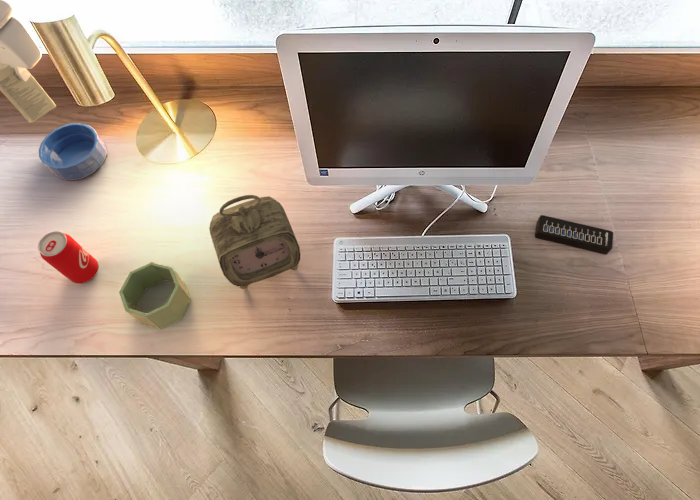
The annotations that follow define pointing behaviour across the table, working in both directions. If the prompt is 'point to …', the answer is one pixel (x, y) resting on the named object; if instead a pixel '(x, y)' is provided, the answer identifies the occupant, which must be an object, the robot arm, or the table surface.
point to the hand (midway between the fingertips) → (8, 75)
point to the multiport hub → (574, 234)
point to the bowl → (72, 151)
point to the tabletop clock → (253, 240)
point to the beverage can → (68, 257)
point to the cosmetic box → (25, 94)
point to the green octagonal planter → (147, 278)
